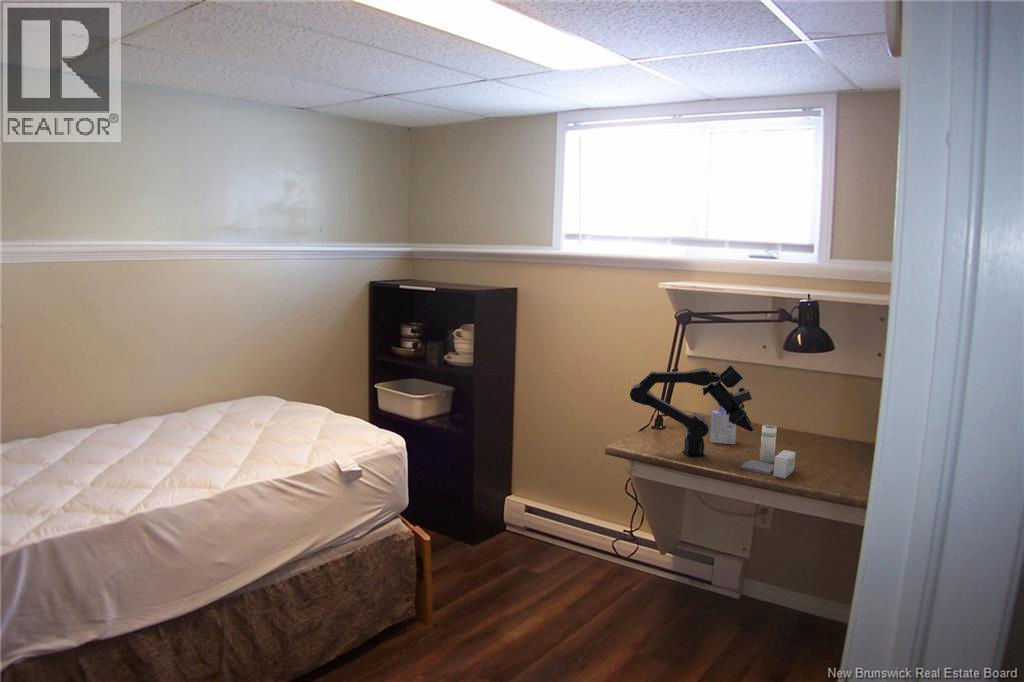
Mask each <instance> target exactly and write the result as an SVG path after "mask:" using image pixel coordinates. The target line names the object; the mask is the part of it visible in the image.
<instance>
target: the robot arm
mask: <svg viewBox="0 0 1024 682" xmlns="http://www.w3.org/2000/svg"><path fill="white" fill-rule="evenodd" d="M743 379H744V377H743V375H742V374H741V372H739V370H737V369H736V368H735V367H734V366H732V365H731V364H729V365H728V366H727V368H726V369H724V370H723V371H722V372H715V371H711V370H710V369H709V368H707V367H701V368H695V369H692V370H687V371H651V372H650V373H648V375H647V376H646V377H645V378H643V380H641V381H640V382H639V383H636V384H634V385H633V386H632V387H631V390H630V392H629V397H630V399H631V401H633V402H634V403H638V404H641V405H644V406H646V407H647V406H648V407H651V408H653V409H655V410H657V411H658V412H660V413H662V414H664V415H666V416H667V417H668V418H671V419H673V420H675V421H676V422H678V423H680V424H681V425H683V426H684V427H685V428H686V437H684V443H683V444H684V445H683V446H684V448H683V450H682V451H681V452H682V453H683V454H684V455H687V457H690V458H693V457H705V456H706V454H705V442H704V437H707V435H708V434H709V432H710V430H709V428H710V427H709V424H708V421H707V420H706V419H705V417H704V416H701V415H699V414H698V413H696V412H694V413H693V414H689V413H686V412H684V411H683V410H681V409H679V408H677V407H675V406H674V405H672V404H669V403H668V402H666V401H665V400H663V399H661V398H660V397H657V396H655V395H654V394H653V393H652V391H651V389H652V388H653V387H654V386H655V384H662V383H663V384H665V383H666V384H667V383H668V384H669V383H670V384H671V383H672V384H676V383H677V384H679V383H681V384H682V383H685V384H686V383H687V384H692V385H696V386H701V387H702V395H703V396H706V395H707V394H709V395H710V396H711V397H712V398H713V399H714V401H716V402H717V405H718V406H719V407H720V406H721V407H722V408H721V409H724V410H725V411H726V413H727V414H729V413H730V414H729V416H728V418H729V421H730V422H731V423H732V424H735V425H737V426H738V427H740V428H742V429H745V430H747V431H749V432H753V431H754V427H752V422H751V420H750V418H749V416H748V415H747V412H746V410H745V404H744V402H748V401H751V400H752V399H753V397H752V395H751V392H750V390H749V389H748V388H746V389H745V388H744V387H743V386H742V387H739V388H738V391H737V392H736V393H733V392H732V391H729V390H728V389H729V388H734V387H735V386H736V385H737V384H739V383H740V382H741V381H742V380H743Z"/></svg>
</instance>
